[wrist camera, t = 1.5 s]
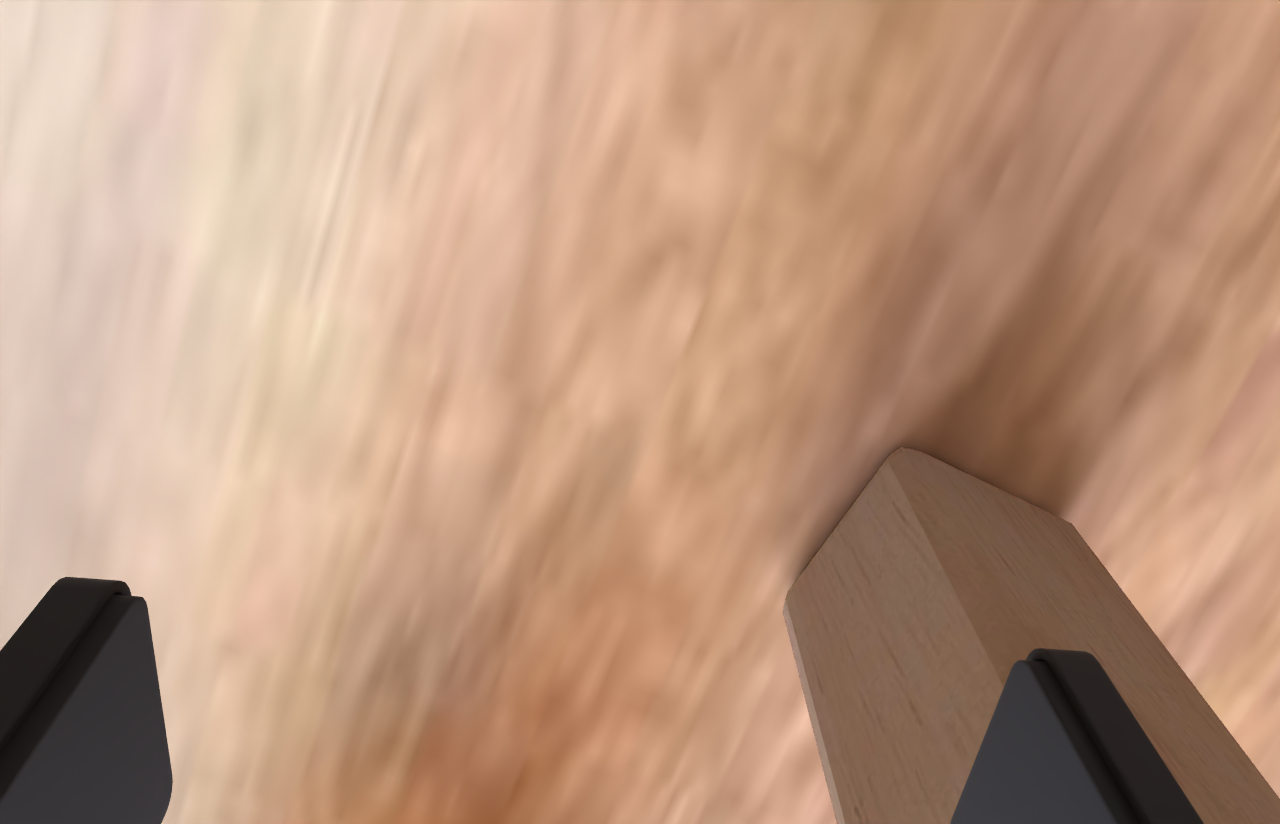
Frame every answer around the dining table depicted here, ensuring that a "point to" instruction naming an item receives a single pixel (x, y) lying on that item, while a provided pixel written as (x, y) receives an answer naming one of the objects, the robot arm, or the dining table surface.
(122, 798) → the robot arm
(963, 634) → the block
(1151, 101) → the dining table surface
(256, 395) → the dining table surface
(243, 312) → the dining table surface
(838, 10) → the dining table surface
